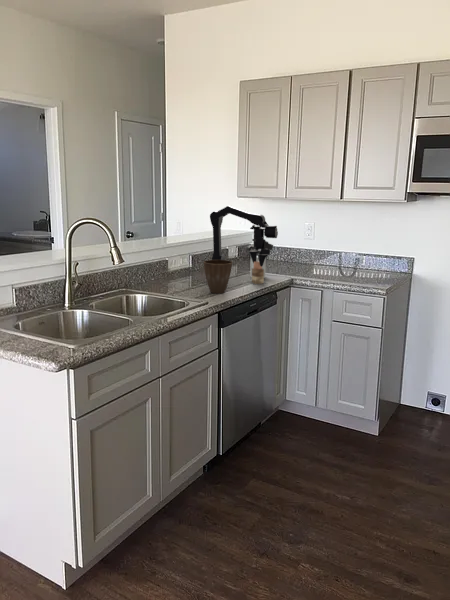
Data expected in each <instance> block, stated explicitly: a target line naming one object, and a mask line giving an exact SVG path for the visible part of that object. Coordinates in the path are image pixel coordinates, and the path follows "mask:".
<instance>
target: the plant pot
mask: <svg viewBox="0 0 450 600" xmlns="http://www.w3.org/2000/svg"><path fill="white" fill-rule="evenodd" d="M232 267H233V261H231V260H226V259H225V260H212V259H207V260H204V261H203V269H204V274H205V279H206V283H207V286H208V289H209V291H210V293H211V292H212V294H223V293H225V291H226V289H227V287H228V285H229V281H230V276H231V274H232V273H231V272H232V269H233V268H232Z"/></svg>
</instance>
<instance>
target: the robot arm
mask: <svg viewBox="0 0 450 600" xmlns="http://www.w3.org/2000/svg"><path fill="white" fill-rule="evenodd" d="M229 214H230V215H233V216H235V217H238V218H241V219H245V220H247V221H248V222H250V223H252V226H251V227H250V228H249V229H250V230H253V238H251V241H252V242H253V244H252V245H247V247H246V250H247V252H248V255H249V256H250V260H251V259H252V261H253V263H254V261H256V258H257V256H258V259H259V263H260V266H263V263H264V260H265V258H266V259H267V257H269V256H270V255H271V251H272V250H273V248H274V244H272V243H270V242H269V241H267V240H266V239H277V238H278V234H279V233H278V232H279V231H278V226H277V225H269V224H268V223H267V221H266V217H265V216H264V215H263V214H259V213H254V212H253V213H252V212H248V211H246V210H242V209H239V208H237V207H233V206H232V205H227V206H225V207H223V208H221V209H219V210H215V211H212V212H211V213H210V214H209V220H210V224H211V226H212V236H213V238H212V239H213V244H212V245H213V247H212V248H213V253H212V255H211V260H226V254H223V251H222V228H221V227H222V225H223V219H224V217H226V216H228V215H229ZM265 238H266V239H265Z"/></svg>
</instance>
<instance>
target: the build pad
mask: <svg viewBox="0 0 450 600" xmlns="http://www.w3.org/2000/svg"><path fill="white" fill-rule="evenodd" d="M248 284H251V285H253V286H255V285H267V284H269V283H267V282H266V281H264V283H260V284H255V283H253V282H252V280H250V281H248Z"/></svg>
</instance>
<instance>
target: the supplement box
mask: <svg viewBox="0 0 450 600" xmlns="http://www.w3.org/2000/svg"><path fill="white" fill-rule="evenodd" d="M256 261H259V259H258V255H257V258H256ZM249 264H250V266H249V267H250V270H249V271H250V273H249V274H250V275H249V276H250V277H251V278H252V268H254V263H253V261H252V259H251V258H250V263H249ZM266 264H267V257H266V258H265V260H264V263H263V266H262V269H264V279H265V278H266V266H267V265H266Z"/></svg>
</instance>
